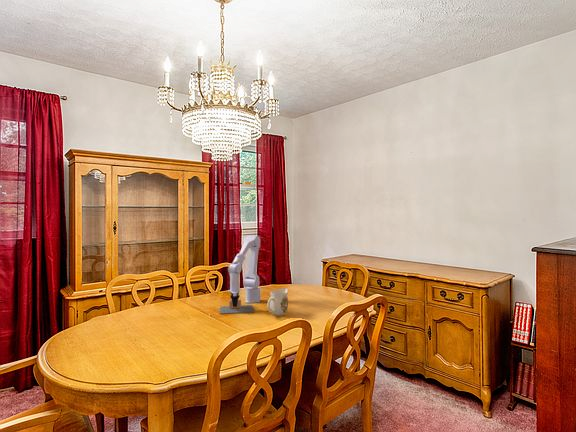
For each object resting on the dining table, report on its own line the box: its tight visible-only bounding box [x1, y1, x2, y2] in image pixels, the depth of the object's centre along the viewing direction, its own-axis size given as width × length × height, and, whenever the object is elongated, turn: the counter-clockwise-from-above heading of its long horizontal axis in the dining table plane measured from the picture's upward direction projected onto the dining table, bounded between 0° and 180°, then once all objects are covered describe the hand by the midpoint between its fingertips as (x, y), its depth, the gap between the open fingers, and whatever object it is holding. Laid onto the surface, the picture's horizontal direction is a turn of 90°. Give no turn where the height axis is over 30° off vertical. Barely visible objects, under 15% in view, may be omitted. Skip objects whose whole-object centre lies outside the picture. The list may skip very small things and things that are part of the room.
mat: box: [219, 304, 255, 315], centre depth 210 cm, size 20×14×1 cm
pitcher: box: [266, 287, 289, 317], centre depth 201 cm, size 11×18×14 cm, turn 143°
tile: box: [228, 299, 242, 309], centre depth 212 cm, size 7×2×5 cm, turn 99°
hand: (234, 304), depth 212 cm, fingers open, 7 cm apart
